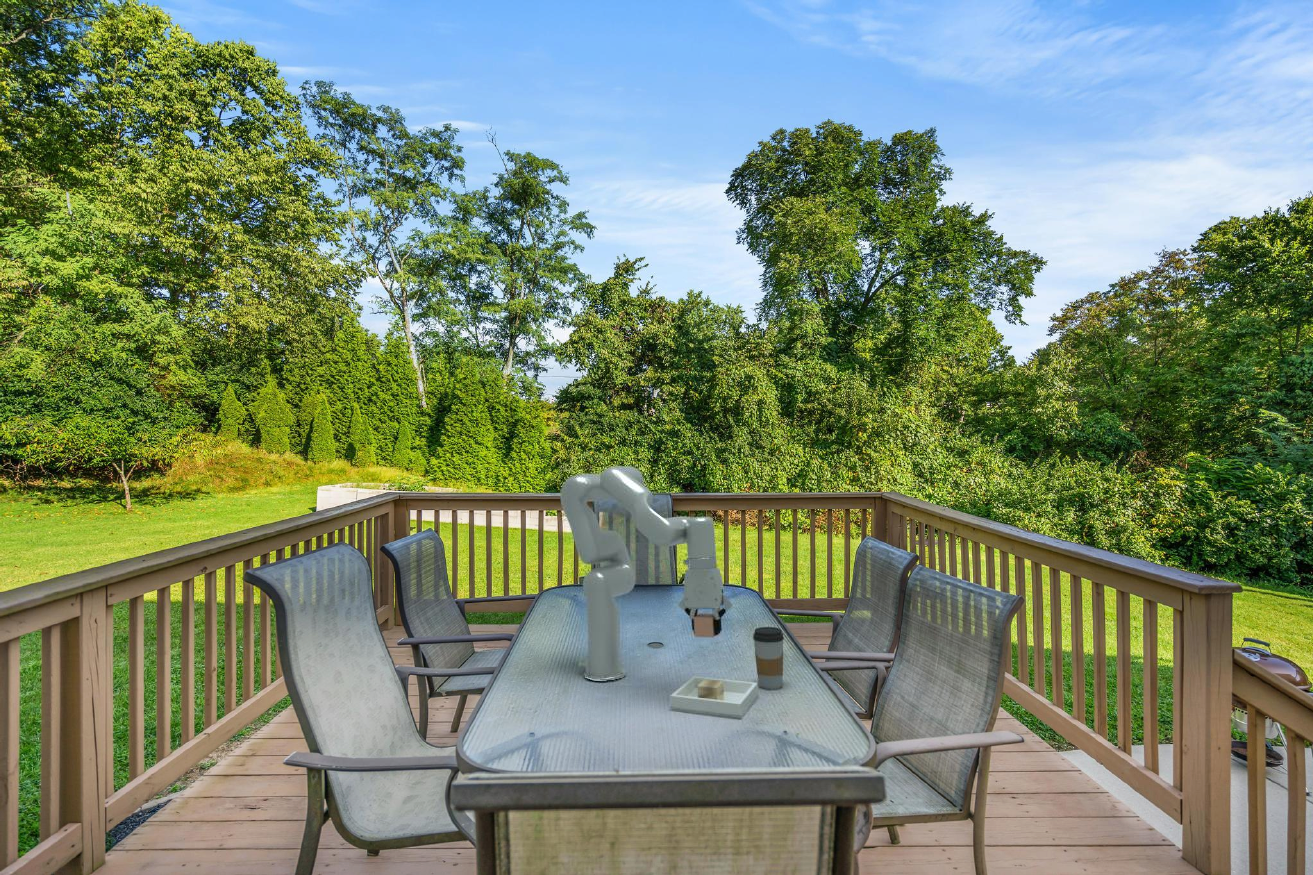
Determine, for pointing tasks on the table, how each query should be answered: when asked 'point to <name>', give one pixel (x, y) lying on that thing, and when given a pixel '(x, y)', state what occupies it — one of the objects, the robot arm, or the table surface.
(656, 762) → the table surface
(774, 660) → the coffee cup
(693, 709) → the tray
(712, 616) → the terracotta block
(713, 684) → the maple block
